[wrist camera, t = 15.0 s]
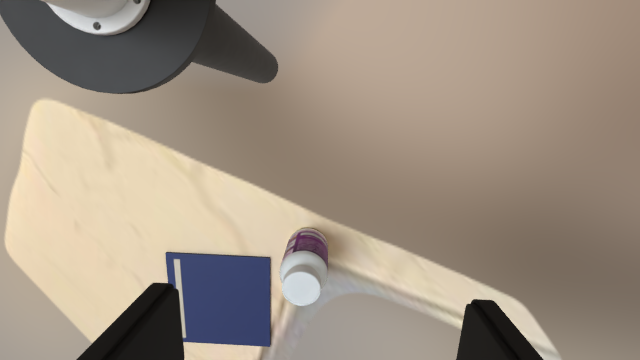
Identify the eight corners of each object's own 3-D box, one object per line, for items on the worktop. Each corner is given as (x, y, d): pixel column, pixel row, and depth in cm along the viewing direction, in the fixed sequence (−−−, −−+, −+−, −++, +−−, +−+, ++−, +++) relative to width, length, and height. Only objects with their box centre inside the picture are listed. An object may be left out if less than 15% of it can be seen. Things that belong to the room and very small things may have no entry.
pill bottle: (289, 224, 39) (276, 262, 30) (329, 228, 39) (330, 267, 30) (286, 262, 41) (273, 309, 31) (325, 266, 41) (324, 314, 31)
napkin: (166, 252, 41) (165, 253, 40) (270, 257, 41) (269, 258, 40) (174, 339, 44) (173, 341, 44) (270, 345, 44) (269, 347, 44)
